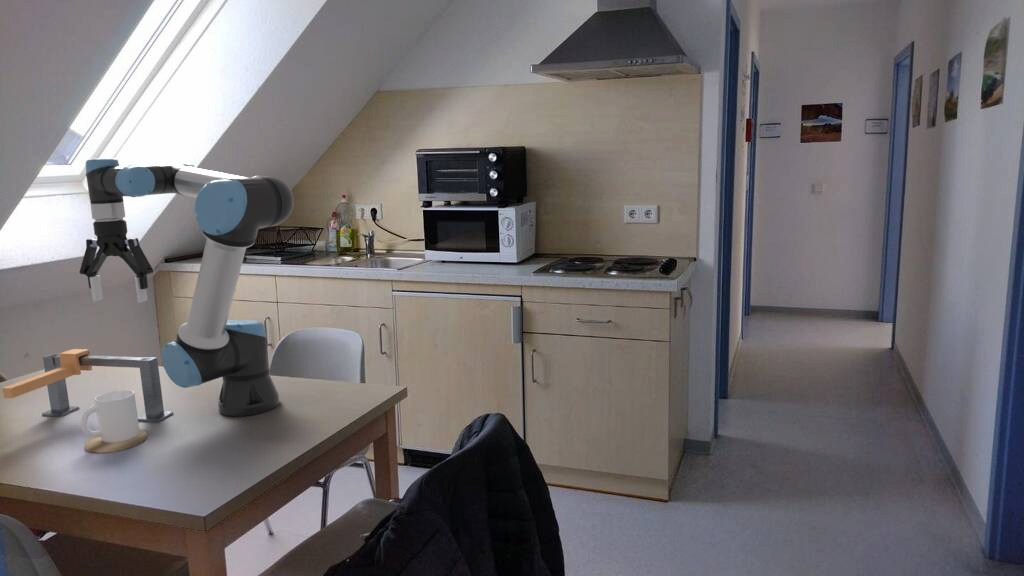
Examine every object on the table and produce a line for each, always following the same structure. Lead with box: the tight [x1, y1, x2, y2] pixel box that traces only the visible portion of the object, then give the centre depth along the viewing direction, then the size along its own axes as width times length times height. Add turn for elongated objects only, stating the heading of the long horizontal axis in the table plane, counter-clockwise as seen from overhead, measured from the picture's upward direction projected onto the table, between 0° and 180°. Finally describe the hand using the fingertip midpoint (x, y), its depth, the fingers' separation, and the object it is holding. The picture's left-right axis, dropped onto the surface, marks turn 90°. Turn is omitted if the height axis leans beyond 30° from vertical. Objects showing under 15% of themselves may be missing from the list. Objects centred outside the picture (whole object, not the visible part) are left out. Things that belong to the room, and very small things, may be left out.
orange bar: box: [1, 348, 93, 399], centre depth 187 cm, size 5×23×6 cm, turn 166°
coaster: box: [84, 429, 148, 454], centre depth 177 cm, size 13×13×1 cm
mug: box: [80, 389, 140, 443], centre depth 177 cm, size 12×8×10 cm
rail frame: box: [41, 353, 174, 423], centre depth 195 cm, size 35×6×16 cm, turn 77°
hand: (120, 301), depth 197 cm, fingers open, 13 cm apart
